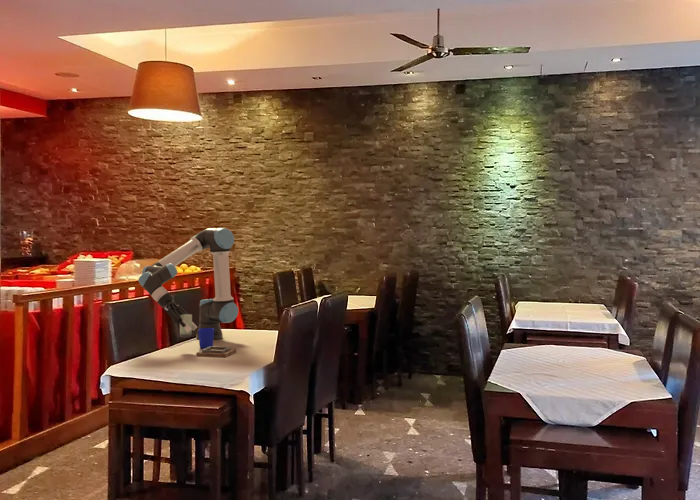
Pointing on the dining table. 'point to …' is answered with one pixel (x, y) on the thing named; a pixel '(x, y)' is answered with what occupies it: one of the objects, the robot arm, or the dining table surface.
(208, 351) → the socket board
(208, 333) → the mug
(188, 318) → the sleeve
